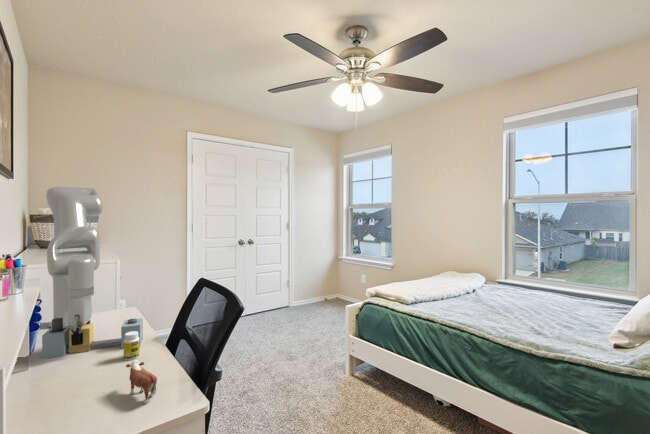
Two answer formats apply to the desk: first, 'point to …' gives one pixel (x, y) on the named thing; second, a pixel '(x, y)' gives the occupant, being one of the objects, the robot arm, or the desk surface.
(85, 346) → the block
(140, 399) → the desk surface
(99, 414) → the desk surface
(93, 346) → the rail
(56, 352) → the frame
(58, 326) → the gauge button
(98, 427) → the desk surface
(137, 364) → the bull figurine
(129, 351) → the supplement bottle
